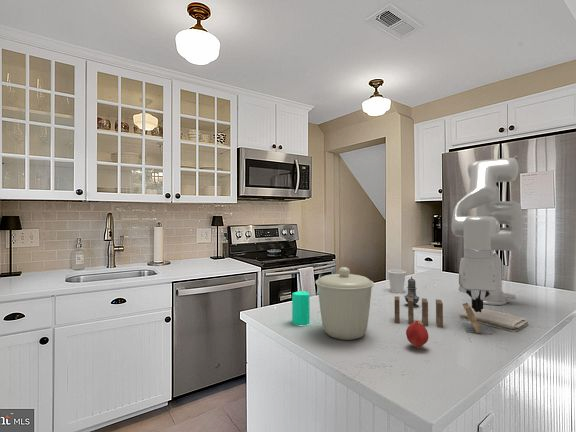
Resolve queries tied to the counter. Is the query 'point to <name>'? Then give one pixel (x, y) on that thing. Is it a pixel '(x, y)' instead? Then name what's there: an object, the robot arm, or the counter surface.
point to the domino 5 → (472, 317)
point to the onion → (417, 334)
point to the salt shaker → (412, 292)
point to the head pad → (470, 329)
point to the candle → (300, 308)
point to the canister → (344, 304)
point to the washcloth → (498, 320)
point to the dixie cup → (397, 280)
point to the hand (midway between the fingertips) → (477, 310)
